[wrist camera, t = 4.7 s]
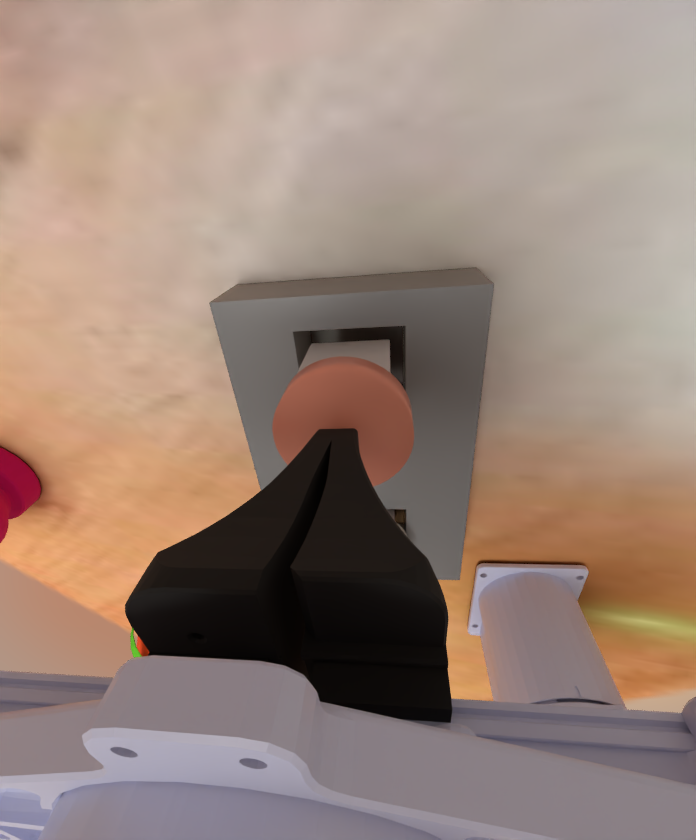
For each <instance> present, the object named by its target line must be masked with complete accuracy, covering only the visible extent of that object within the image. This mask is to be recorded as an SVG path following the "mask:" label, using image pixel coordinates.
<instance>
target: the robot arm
mask: <svg viewBox="0 0 696 840" xmlns="http://www.w3.org/2000/svg"><path fill="white" fill-rule="evenodd" d="M588 573H589V571H588V569H587V568H586V567H585V566H583V565H548V564H499V563H481V564H479V565H478V566H477V567H476V574H475V580H474V587H473V594H472V600H471V607H470V614H469V621H468V627H467V629H468V633H469V634H471V635H480V638H481V642H482V647H483V652H484V657H485V662H486V667H487V672H488V676H489V681H490V686H491V691H492V696H493V701H480V700H464V699H451V694H450V686H449V678H448V670H447V668H448V657H447V650H446V637H447V627H448V610H447V606H446V602H445V598H444V595H443V592H442V590H441V587H440V584H439V582H438V580H437V577H436V575H435V573H434V571H433V569H432V566H431V564H430V562H429V560H428V558H427V557H426V556H425V555H424V554H423V553H422V552H421V551H420V550H419V549H418V548H417V547H416V546H415V545H414V544H413V543H412V542H411V541H410V539H409V538H408V537H407V536H406V535H405V534H404V532H403V531H402V530H401V529H400V527H399V526H398V525H397V523H396V522H395V521H394V519H393V518H392V517H391V515H390V514H389V513H388V511H387V510H386V508H385V506H384V505H383V503H382V502H381V500H380V498H379V497H378V495H377V493H376V491H375V489H374V487H373V485H372V483H371V481H370V479H369V477H368V475H367V472H366V470H365V467H364V464H363V461H362V459H361V456H360V451H359V439H358V431H357V430H356V429H355V428H343V429H319V430H318V431H317V432H316V433H315V434H314V435H313V436H312V438H311V439H310V440H309V441H308V443H307V444H306V445H305V446H304V447H303V449H302V450H301V451H300V452H299V453H298V454H297V456H296V457H295V458H294V459H293V460H292V461H291V462H290V463H289V464H288V466H287V467H286V468H285V469H284V470H283V471H282V472H281V473H280V474H279V475H278V476H277V477H276V478H275V479H274V480H273V481H272V482H271V483H269V484H268V485H267V486H266V487H265V488H264V489H263V490H261V491H260V492H259V493H258V494H256V495H255V496H254V497H253V498H251V499H250V500H249V501H247V502H246V503H245V504H243V505H242V506H240V507H239V508H237V509H236V510H235V511H233V512H232V513H230V514H229V515H227V516H226V517H224V518H223V519H221V520H219V521H218V522H216V523H214V524H213V525H211V526H209V527H208V528H206V529H204V530H202V531H200V532H199V533H197V534H195V535H193V536H191V537H189V538H187V539H185V540H183V541H181V542H179V543H177V544H175V545H173V546H171V547H169V548H167V549H164V550H162V551H160V552H158V553H157V554H156V556H155V557H154V559H153V560H152V562H151V563H150V565H149V566H148V568H147V569H146V571H145V573H144V574H143V576H142V577H141V579H140V581H139V582H138V584H137V586H136V587H135V589H134V590H133V592H132V594H131V595H130V597H129V599H128V601H127V602H126V604H125V613H126V616H127V618H128V620H129V622H130V624H131V626H132V627H133V629H134V630H135V632H136V633H137V635H138V636H139V638H140V639H141V640H142V642H143V643H144V645H145V646H146V648H147V649H148V650H149V654H148V656H143V657H135V658H132V659H130V660H128V661H127V662H126V663H125V664H123V666H121V667H120V668H119V669H118V671H117V673H116V675H115V676H114V678H110V677H95V676H79V675H78V676H77V675H63V674H62V675H61V674H46V673H30V672H14V671H0V840H696V697H694V698H692V699H691V700H689V701H688V702H687V703H686V705H685V707H684V709H683V711H682V713H673V712H657V711H641V710H627V709H626V707H625V704H624V702H623V700H622V698H621V696H620V693H619V691H618V689H617V687H616V685H615V682H614V680H613V678H612V676H611V674H610V672H609V669H608V667H607V665H606V663H605V661H604V658H603V656H602V654H601V652H600V650H599V647H598V645H597V643H596V641H595V639H594V637H593V634H592V632H591V630H590V628H589V626H588V623H587V621H586V619H585V617H584V615H583V613H582V610H581V608H580V606H579V604H578V602H577V601H578V598H579V596H580V593H581V591H582V588H583V586H584V583H585V581H586V578H587V576H588Z"/></svg>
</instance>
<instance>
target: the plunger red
mask: <svg viewBox="0 0 696 840" xmlns="http://www.w3.org/2000/svg"><path fill="white" fill-rule="evenodd" d="M343 428H355V429H356V430H357V431H358V439H359V451H360V456H361V459H362V461H363V464H364V467H365V470H366V472H367V475H368V477H369V479H370V481H371V483H372V485H373V487H374V486H376V485H379V484H381V483H383V482H385V481H387V480H388V479H390V478H391V477H393V476H394V475H395V474H396V473H398V472H399V471H400V470H401V468H402V467H403V466H404V465H405V463H406V462H407V460H408V458H409V456H410V454H411V452H412V448H413V444H414V427H413V418H412V408H411V404H410V400H409V398H408V395H407V393H406V391H405V389H404V388H403V386H402V385H401V383H400V382H399V381H398V380H397V379H396V378H395V377H394V376H393V375H392V374H391V372H390V339H389V340H369V341H349V342H330V343H311V345H310V347H309V349H308V351H307V353H306V356H305V358H304V360H303V362H302V364H301V366H300V368H299V370H298V372H297V374H296V375H295V376H294V377H293V379H292V380H291V381H290V383H289V384H288V386H287V388H286V390H285V392H284V394H283V396H282V398H281V400H280V402H279V404H278V406H277V408H276V411H275V414H274V418H273V424H272V432H273V438H274V442H275V445H276V448H277V450H278V452H279V454H280V455H281V457H282V458H283V460H284V461H285V462H286V464H287V465H288V464H289V463H290V462H291V461H292V460H293V459H294V458H295V457H296V456H297V454H298V453H299V452H300V451H301V450H302V449H303V447H304V446H305V445H306V444H307V443H308V441H309V440H310V439H311V438H312V436H313V435H314V434H315V433H316V432H317V431H318V430H319V429H343Z"/></svg>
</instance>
